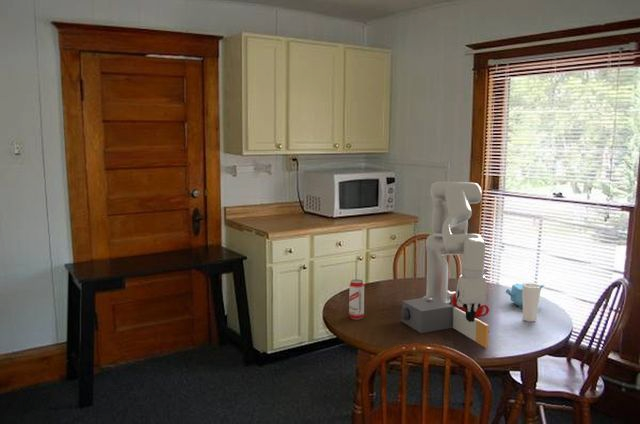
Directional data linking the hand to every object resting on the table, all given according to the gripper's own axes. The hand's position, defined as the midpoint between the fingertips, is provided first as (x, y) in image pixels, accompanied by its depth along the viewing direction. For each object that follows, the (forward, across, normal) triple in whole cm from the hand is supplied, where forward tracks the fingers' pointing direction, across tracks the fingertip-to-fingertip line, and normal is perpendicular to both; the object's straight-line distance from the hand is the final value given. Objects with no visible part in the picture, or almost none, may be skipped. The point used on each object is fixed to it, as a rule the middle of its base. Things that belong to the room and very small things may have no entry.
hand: (470, 320), depth 199 cm
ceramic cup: (+11, -12, -24) cm, 29 cm away
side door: (+10, -3, -7) cm, 12 cm away
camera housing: (+10, +8, -23) cm, 26 cm away
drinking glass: (+11, -36, -21) cm, 44 cm away
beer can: (+11, +34, -35) cm, 51 cm away
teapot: (+11, -44, -40) cm, 61 cm away
